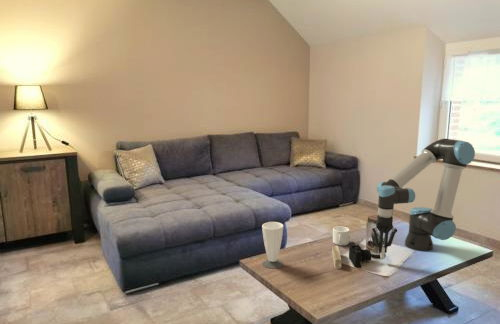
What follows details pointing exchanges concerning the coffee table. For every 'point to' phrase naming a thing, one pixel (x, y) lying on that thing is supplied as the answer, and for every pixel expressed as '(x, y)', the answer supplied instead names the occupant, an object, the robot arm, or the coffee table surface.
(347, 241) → the mug
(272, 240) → the cup
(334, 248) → the board
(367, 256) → the camera
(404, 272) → the coffee table surface
